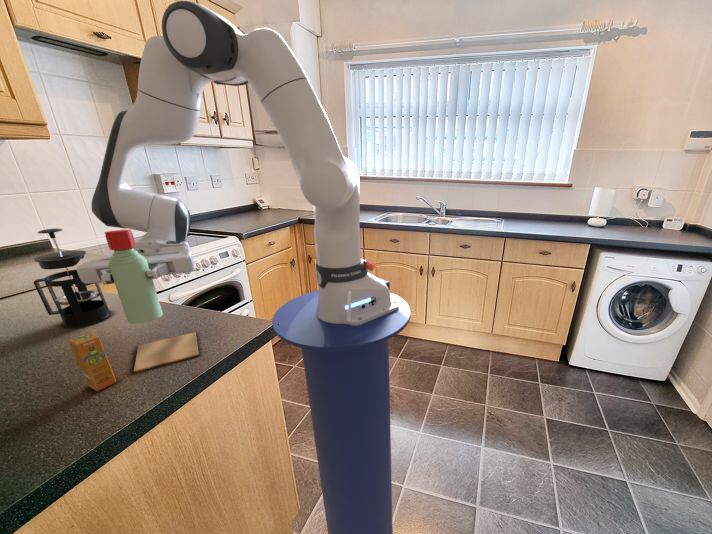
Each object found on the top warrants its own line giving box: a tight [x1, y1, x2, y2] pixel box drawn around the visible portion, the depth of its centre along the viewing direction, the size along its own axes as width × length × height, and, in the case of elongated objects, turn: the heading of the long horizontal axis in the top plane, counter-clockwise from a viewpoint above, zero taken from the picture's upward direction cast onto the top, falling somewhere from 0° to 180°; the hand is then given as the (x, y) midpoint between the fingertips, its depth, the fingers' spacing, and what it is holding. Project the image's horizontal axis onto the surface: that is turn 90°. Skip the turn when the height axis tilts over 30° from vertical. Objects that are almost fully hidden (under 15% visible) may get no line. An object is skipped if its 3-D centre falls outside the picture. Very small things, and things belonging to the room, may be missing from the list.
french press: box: [32, 227, 112, 329], centre depth 81 cm, size 12×9×23 cm
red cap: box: [104, 229, 136, 251], centre depth 65 cm, size 4×4×3 cm
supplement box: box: [67, 331, 117, 392], centre depth 60 cm, size 3×3×10 cm
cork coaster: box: [133, 331, 200, 373], centre depth 72 cm, size 11×11×1 cm
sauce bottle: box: [109, 248, 164, 325], centre depth 67 cm, size 6×6×18 cm
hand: (129, 277), depth 66 cm, fingers closed on sauce bottle, 6 cm apart
